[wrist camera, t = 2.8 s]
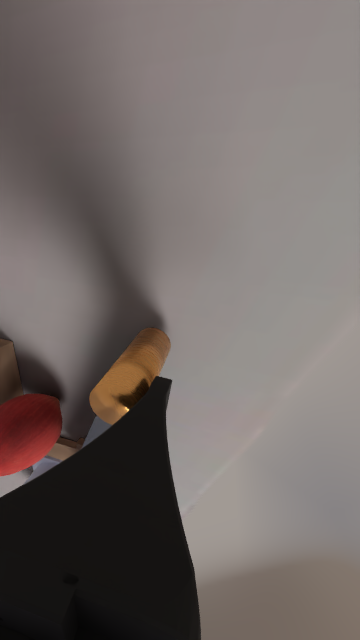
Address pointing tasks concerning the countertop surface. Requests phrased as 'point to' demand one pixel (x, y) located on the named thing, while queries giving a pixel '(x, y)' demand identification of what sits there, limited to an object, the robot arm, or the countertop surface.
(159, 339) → the lever
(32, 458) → the onion
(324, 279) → the countertop surface
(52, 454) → the bench
